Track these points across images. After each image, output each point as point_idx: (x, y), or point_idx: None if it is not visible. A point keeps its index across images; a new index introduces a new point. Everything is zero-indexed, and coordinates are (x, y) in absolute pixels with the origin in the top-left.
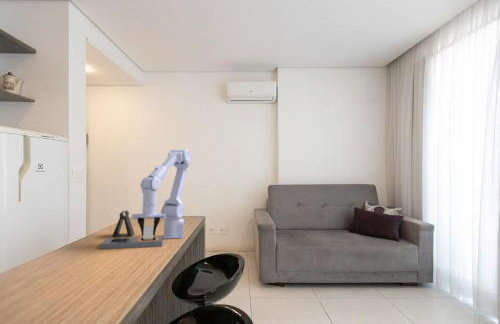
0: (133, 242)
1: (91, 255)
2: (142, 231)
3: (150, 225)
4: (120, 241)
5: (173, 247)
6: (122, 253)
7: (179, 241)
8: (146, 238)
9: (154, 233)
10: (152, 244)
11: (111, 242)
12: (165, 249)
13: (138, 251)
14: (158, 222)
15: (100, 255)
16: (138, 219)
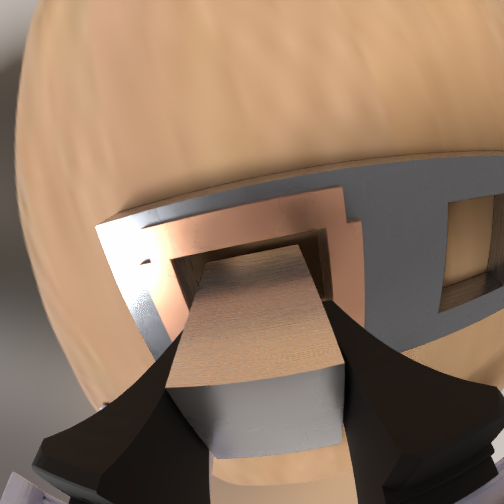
0: (382, 178)
1: (496, 28)
2: (342, 325)
3: (259, 454)
4: (462, 290)
5: (40, 194)
6: (374, 3)
7: (77, 348)
8: (269, 272)
9: (179, 334)
10: (186, 197)
11: (501, 249)
12: (68, 126)
13: (271, 34)
14: (60, 434)
15: (465, 9)
16: (481, 462)
